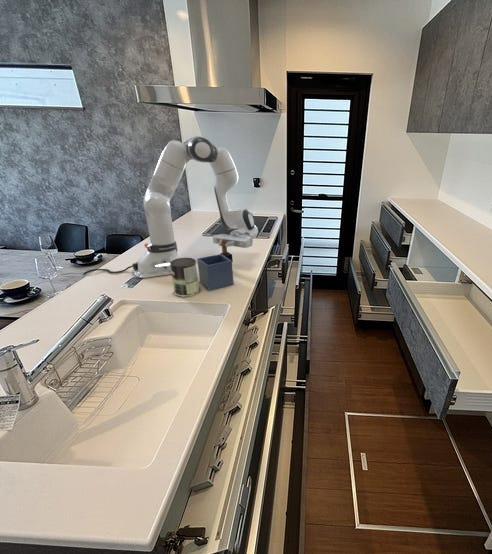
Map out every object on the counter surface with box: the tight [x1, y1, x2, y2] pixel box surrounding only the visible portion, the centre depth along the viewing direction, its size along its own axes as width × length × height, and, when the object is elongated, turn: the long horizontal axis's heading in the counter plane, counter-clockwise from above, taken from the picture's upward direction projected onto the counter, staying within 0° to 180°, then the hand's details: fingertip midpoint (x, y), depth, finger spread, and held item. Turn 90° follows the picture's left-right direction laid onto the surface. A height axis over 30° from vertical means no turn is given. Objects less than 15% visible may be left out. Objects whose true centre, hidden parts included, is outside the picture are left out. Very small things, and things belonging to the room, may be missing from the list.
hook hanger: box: [219, 239, 233, 263], centre depth 151 cm, size 6×4×17 cm, turn 39°
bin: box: [196, 253, 234, 291], centre depth 140 cm, size 12×12×12 cm
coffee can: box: [170, 257, 200, 298], centre depth 130 cm, size 10×10×14 cm
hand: (223, 244), depth 149 cm, fingers closed on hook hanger, 2 cm apart
